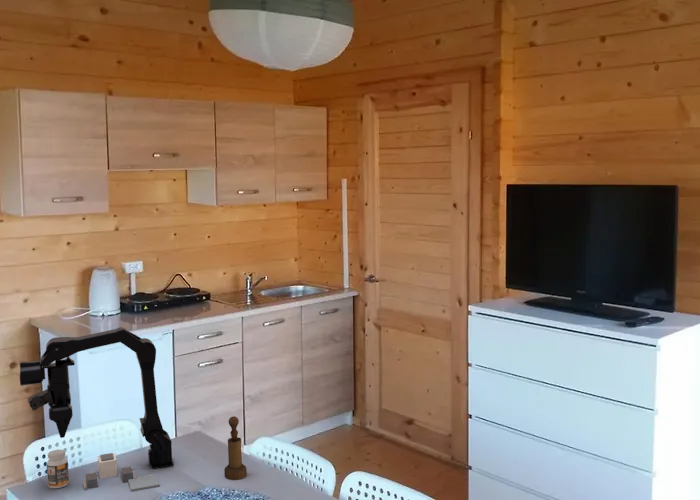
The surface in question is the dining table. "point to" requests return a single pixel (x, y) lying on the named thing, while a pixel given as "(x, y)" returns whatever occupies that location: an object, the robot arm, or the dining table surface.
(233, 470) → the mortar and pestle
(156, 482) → the mat
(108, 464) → the beige open box
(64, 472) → the pill bottle
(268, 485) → the dining table surface
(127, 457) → the dining table surface
